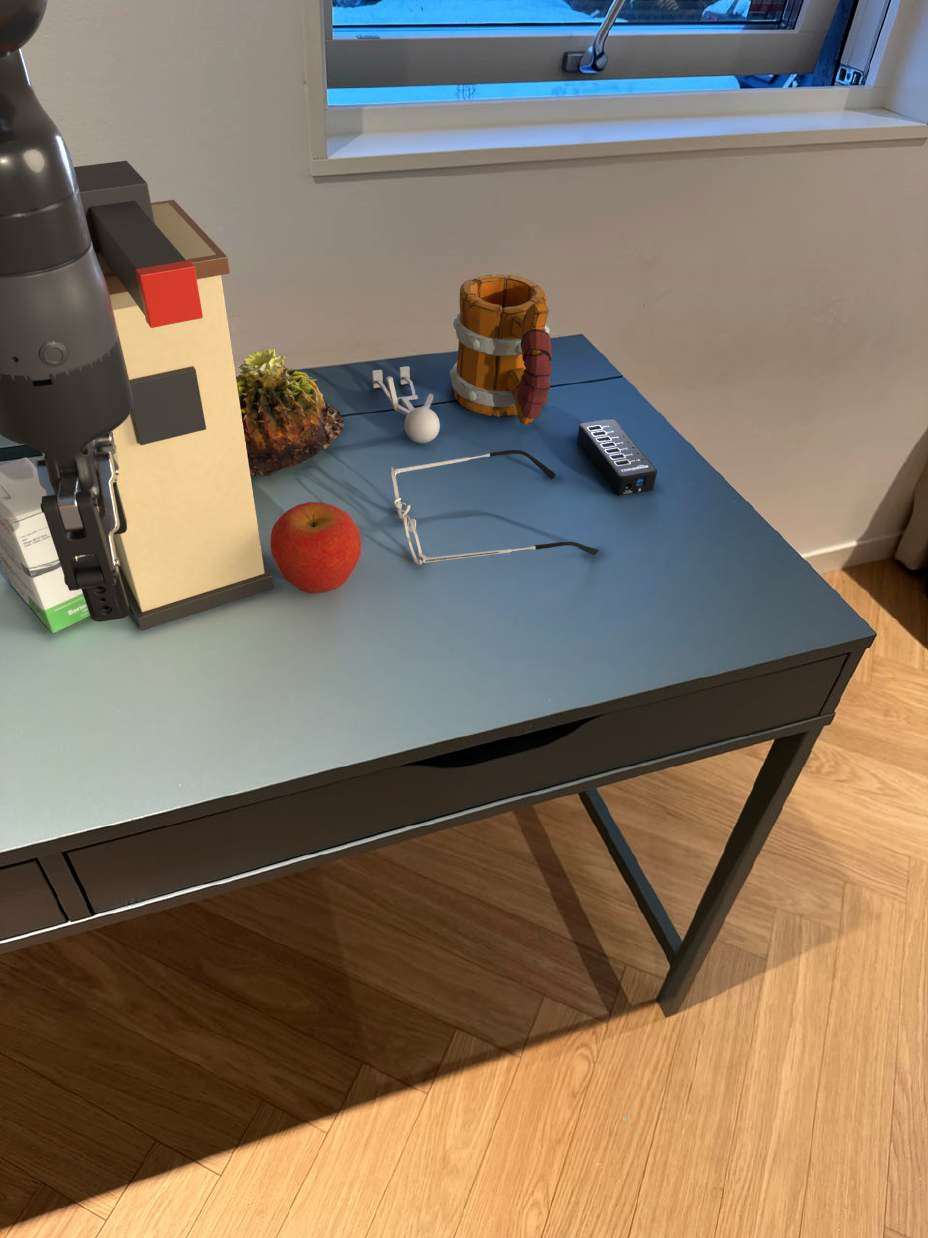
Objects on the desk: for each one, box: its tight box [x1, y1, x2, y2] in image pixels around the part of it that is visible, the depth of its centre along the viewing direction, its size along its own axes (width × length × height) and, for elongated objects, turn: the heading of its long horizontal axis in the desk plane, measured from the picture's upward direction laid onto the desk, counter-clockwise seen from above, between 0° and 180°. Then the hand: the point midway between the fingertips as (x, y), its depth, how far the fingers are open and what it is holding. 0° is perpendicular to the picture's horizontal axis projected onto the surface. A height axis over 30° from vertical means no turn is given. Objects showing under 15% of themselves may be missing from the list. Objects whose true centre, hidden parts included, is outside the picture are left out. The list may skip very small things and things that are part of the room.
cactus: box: [236, 348, 345, 478], centre depth 97 cm, size 17×16×10 cm
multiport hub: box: [576, 418, 658, 497], centre depth 98 cm, size 4×11×2 cm, turn 18°
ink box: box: [0, 457, 90, 634], centre depth 76 cm, size 9×5×12 cm, turn 42°
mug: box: [448, 274, 553, 426], centre depth 102 cm, size 11×16×15 cm, turn 24°
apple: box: [270, 501, 362, 594], centre depth 80 cm, size 8×8×8 cm
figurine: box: [371, 365, 441, 444], centre depth 103 cm, size 6×6×15 cm
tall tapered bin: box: [95, 199, 275, 631], centre depth 73 cm, size 12×12×30 cm
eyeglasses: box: [390, 449, 600, 566], centre depth 88 cm, size 16×19×5 cm
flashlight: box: [73, 160, 203, 328], centre depth 58 cm, size 5×17×4 cm, turn 30°
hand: (111, 572), depth 58 cm, fingers open, 8 cm apart
